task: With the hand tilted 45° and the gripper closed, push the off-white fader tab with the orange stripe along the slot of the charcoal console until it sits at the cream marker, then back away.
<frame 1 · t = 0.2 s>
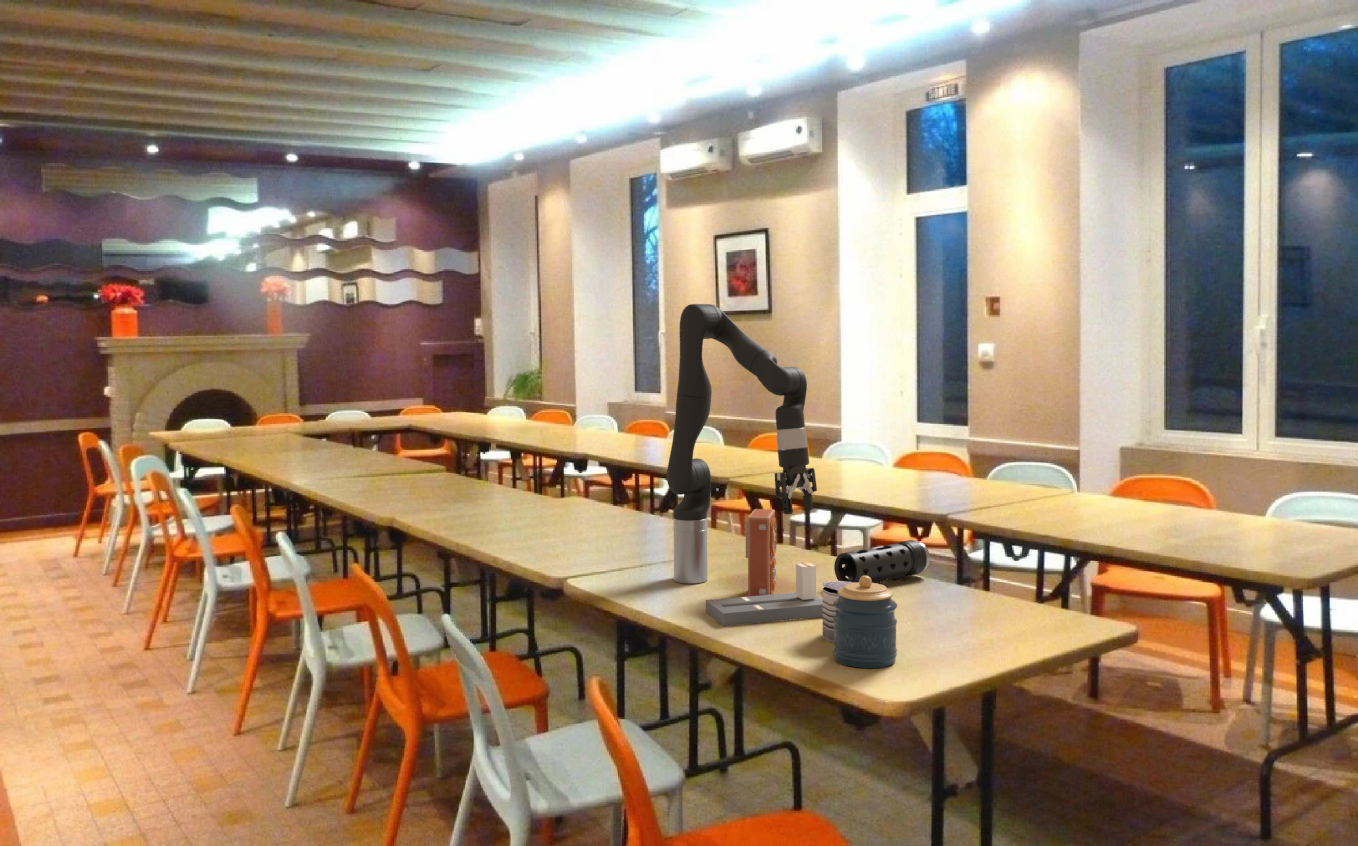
hand: (798, 512, 270), 23 cm above the table, tool pointing down, fingers open, 8 cm apart
muzzle brake: (883, 584, 292), on the table
can: (848, 638, 241), on the table
console: (767, 614, 261), on the table
fader tab: (805, 580, 263), point 7 cm above the table, slide at 0.0 cm
canister: (864, 660, 225), on the table
control panel: (761, 596, 280), on the table
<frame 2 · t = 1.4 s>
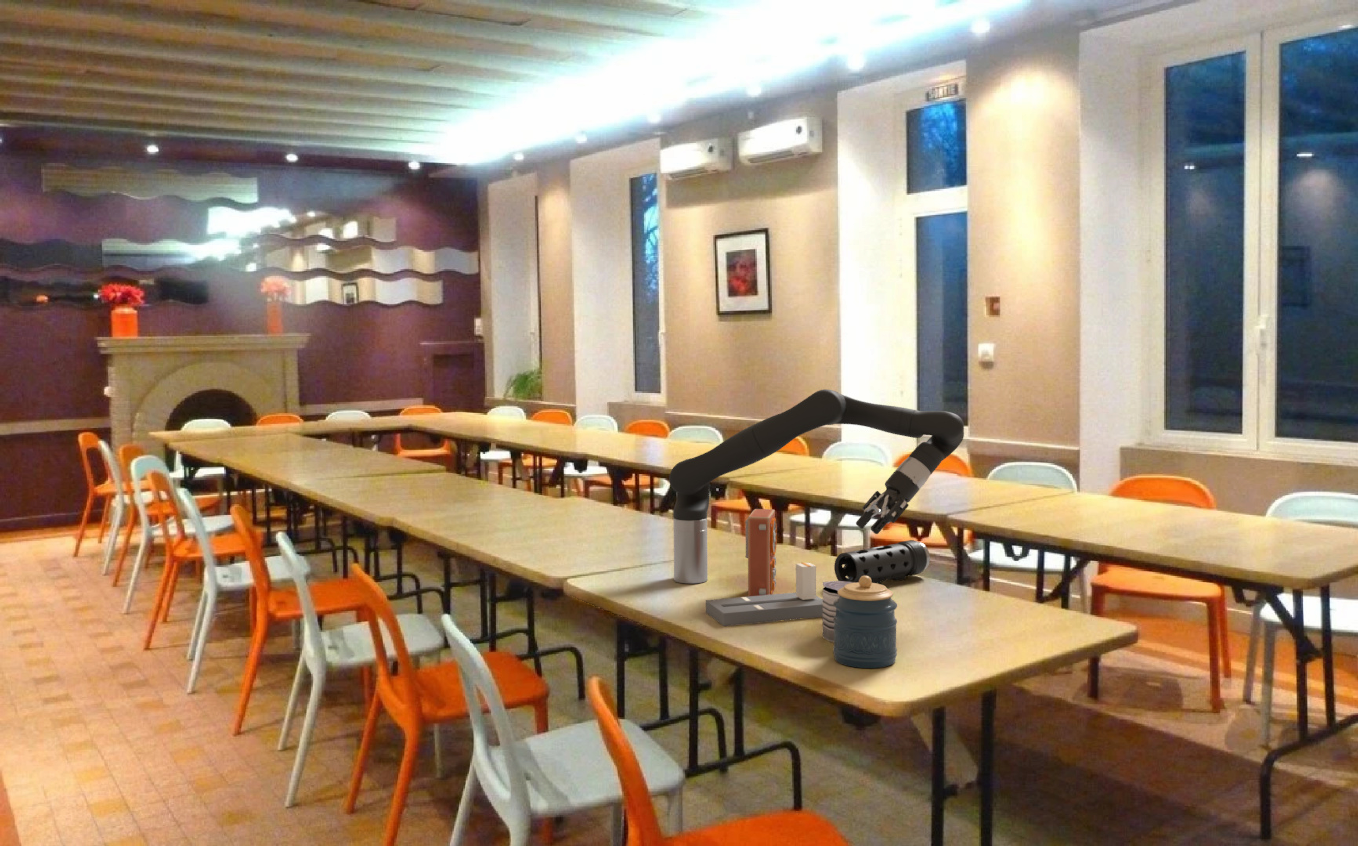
hand: (866, 529, 267), 19 cm above the table, tool tilted 45°, fingers open, 7 cm apart
nothing on the table moved.
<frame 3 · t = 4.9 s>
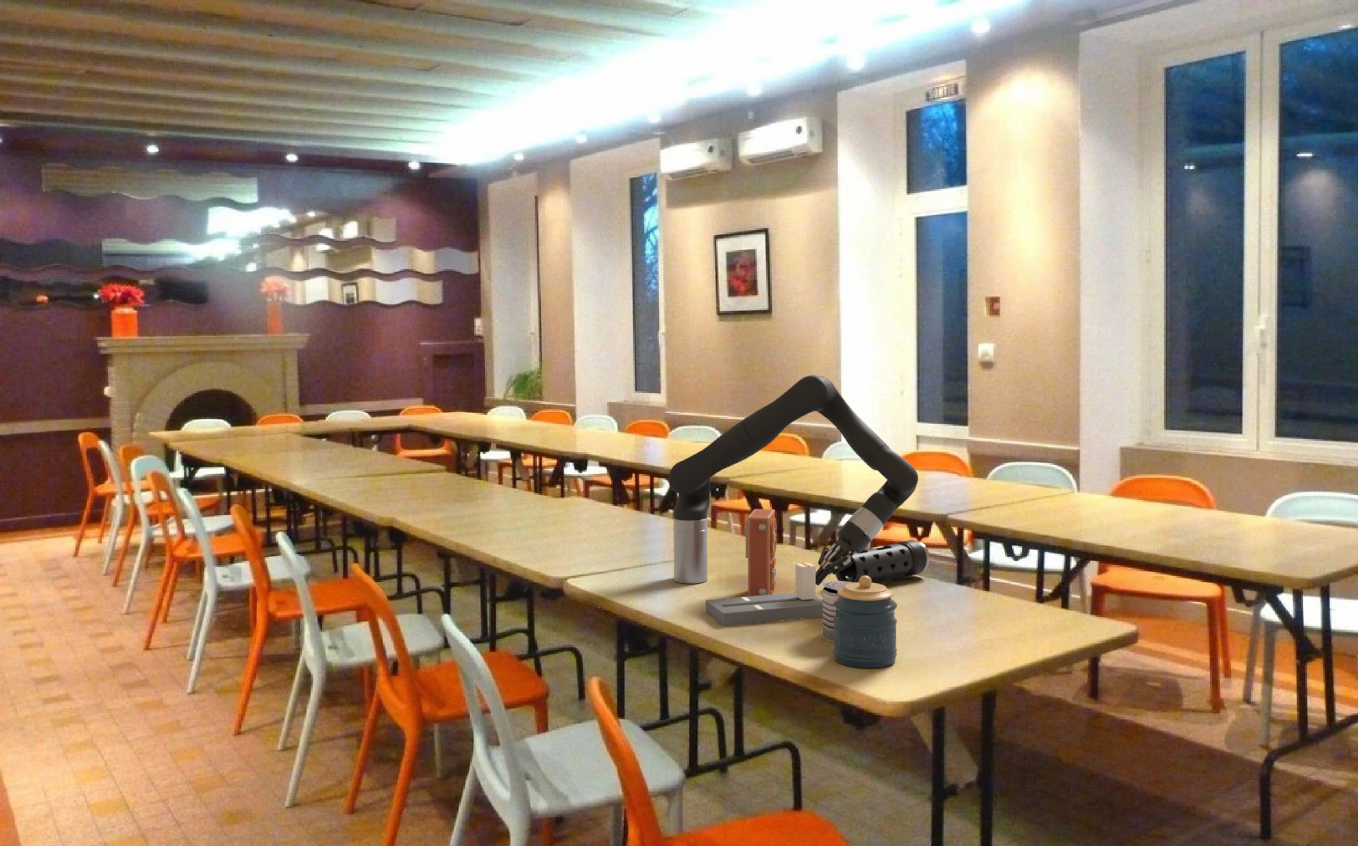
hand: (814, 582, 264), 7 cm above the table, tool tilted 45°, fingers closed
fader tab: (805, 580, 263), point 7 cm above the table, slide at 0.1 cm, touching gripper
everything else where it was.
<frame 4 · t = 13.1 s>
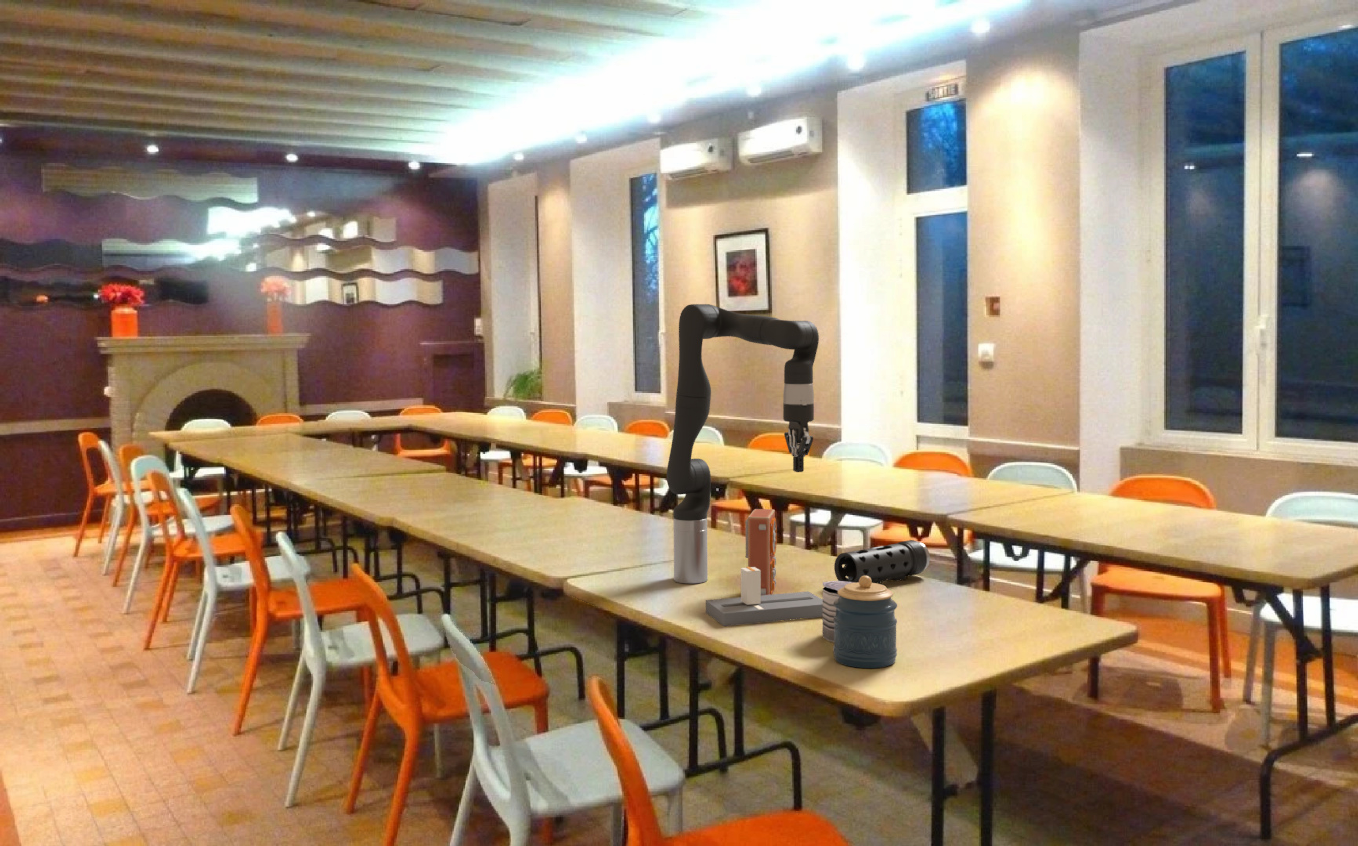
hand: (798, 471, 269), 33 cm above the table, tool pointing down, fingers closed
fader tab: (750, 585, 259), point 7 cm above the table, slide at 14.3 cm
everything else where it was.
at the end: fader tab slide at 14.3 cm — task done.
